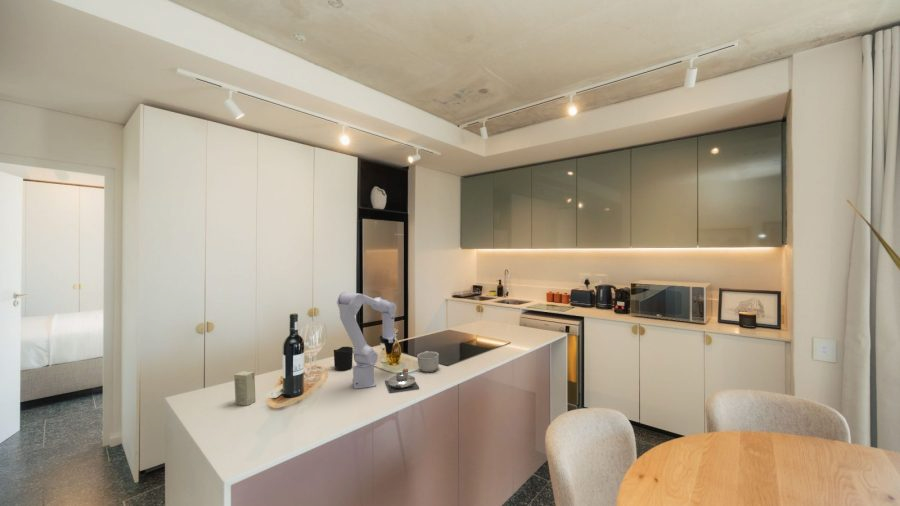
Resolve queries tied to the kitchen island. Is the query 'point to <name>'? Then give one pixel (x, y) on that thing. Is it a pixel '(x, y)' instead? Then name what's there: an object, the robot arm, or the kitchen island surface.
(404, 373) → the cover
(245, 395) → the skincare box
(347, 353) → the pen holder
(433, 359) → the teacup
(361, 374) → the robot arm
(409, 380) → the turntable
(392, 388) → the turntable base
